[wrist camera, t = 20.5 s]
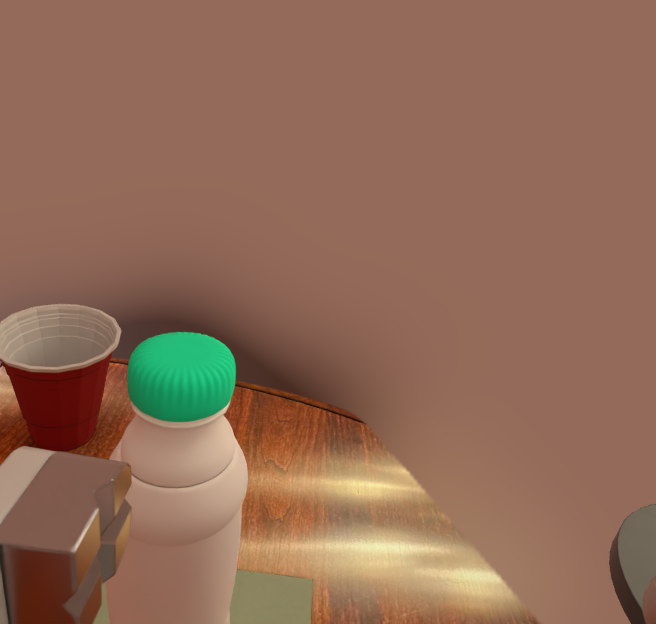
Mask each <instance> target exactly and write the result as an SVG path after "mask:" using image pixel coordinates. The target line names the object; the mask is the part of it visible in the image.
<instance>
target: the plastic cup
mask: <svg viewBox="0 0 656 624" xmlns="http://www.w3.org/2000/svg"><path fill="white" fill-rule="evenodd" d="M120 334H121V329H120V328H119V326H118V324H117V323H116V321H115V319H114V318H112V317H110V316H109V315H107V314H105V313H104V312H102V311H100V310H97V309H93V308H90V307H86V306H82V305H67V304H53V305H45V306H37V307H32V308H29V309H26V310H23V311H20V312H17V313H14V314H12V315H10V316H9V317H7V318H6V319H4V320H2V321H1V322H0V360H1V362H2V364H3V366H4V367H5V369H6V372H7V375H9V377H10V380H11V383H12V386H13V389H14V391H15V394H16V397H17V400H18V403H19V406H20V409H21V412H22V415H23V418H24V419H25V420H26V423H27V426H28V429H29V432H30V435H31V438H32V439H33V441H34V443H35V444H36V445H37V446H39V447H40V448H41V449H45V450H50V451H67V450H71V449H75V448H77V447H79V446H81V445H83V444H85V443H87V442H88V441H89V440H90V439H91V437H92V436H93V434H94V431H95V429H96V425H97V420H98V414H99V410H100V406H101V402H102V397H103V391H104V386H105V381H106V375H107V370H108V366H109V362H110V359H111V356H112V353H113V350H114V349H115V348H116V347H117V346H118V342H119V339H120Z"/></svg>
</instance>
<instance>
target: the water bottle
mask: <svg viewBox="0 0 656 624" xmlns="http://www.w3.org/2000/svg"><path fill="white" fill-rule="evenodd" d="M235 376H236V365H235V360H234V357H233V355H232V353H231V351H230V350H229V349H228V348H227V347H226V346H225V344H223V343H221V342H220V341H219V340H216V339H215V338H213V337H209V336H208V335H201V334H200V333H196V334H195V333H193V332H190V333H187V332H182V333H180V332H175V333H167V334H161V335H160V336H159V335H157V336H154V337H153V338H148V339H147V340H146V341H143V342H141V343H140V345H139V346H137V347H136V349H135V350H134V352H133V353H132V355H131V358H130V360H129V364H128V375H127V384H128V393H129V397H130V400H131V407H132V409H133V410H134V411H135V413H136V414H137V415H136V416H135V418H134V419H133V420H132V421H131V422H130V424H129V425H128V427H127V428H126V430H125V432H124V435H123V438H122V439H121V440H120V442H119V443H118V445H117V447H116V448H115V450H114V451H113V453H112V455H111V456H110V458H109V460H115V461H121V462H127V463H128V464H129V465H130V466H131V478H132V484H131V486H130V488H129V490H128V492H127V494H126V496H125V499H126V501H127V502H128V503H129V504H130V506H131V507H132V514H131V526H130V533H129V538H128V541H127V544H126V548H125V551H124V555H123V558H122V560H121V562H120V565H119V567H118V569H117V572H116V574H115V575H114V576H113V577H112V578H110V579H109V580H107V581H106V596H107V606H108V613H109V624H230V611H229V607H230V603H231V599H232V594H233V589H234V583H235V577H236V570H237V563H238V555H239V546H240V534H241V513H242V507H241V505H242V503H243V501H244V498H245V495H246V491H247V484H248V470H247V464H246V460H245V457H244V454H243V452H242V450H241V448H240V446H239V444H238V442H237V440H236V439H235V437H234V434H233V430H232V428H231V426H230V424H229V422H228V421H227V419H226V418H225V417H224V415H223V414H224V413H225V412H226V411H227V409H228V407H229V404H230V400H231V397H232V394H233V391H234V386H235Z"/></svg>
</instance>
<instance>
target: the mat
mask: <svg viewBox="0 0 656 624" xmlns="http://www.w3.org/2000/svg"><path fill="white" fill-rule="evenodd" d="M312 591H313V579H306V578H299V577H291V576H284V575H277V574H269V573H262V572H254V571H247V570H240V569H237V570H236V577H235V583H234V589H233V594H232V599H231V603H230V607H229V611H230V624H310V623H311V607H312ZM93 624H109V613H108V606H107V596H106V582H105V583H103V584H102V605H101V608H100V610H99V612H98V614H97V616H96V619H95V621H94V623H93Z"/></svg>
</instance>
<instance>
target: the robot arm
mask: <svg viewBox="0 0 656 624" xmlns="http://www.w3.org/2000/svg"><path fill="white" fill-rule="evenodd" d="M131 484H132V478H131V466H130V465H129V464H128V463H127V462H121V461H115V460H109V459H103V458H97V457H91V456H85V455H79V454H73V453H67V452H61V451H58V452H56V451H50V450H44V449H38V448H33V447H27V446H22V447H20V448H18V449H16V450H14V451H13V452H11V453H10V455H9V456H8V457H7V458H6V459H5V460H4V462H3V463H2V464H1V465H0V624H93V623H94V621H95V619H96V616H97V614H98V612H99V610H100V608H101V605H102V584H103V583H105V582H106V581H107V580H109V579H110V578H112V577H113V576H114V575H115V574H116V572H117V569H118V567H119V565H120V562H121V560H122V558H123V555H124V551H125V548H126V544H127V541H128V538H129V533H130V526H131V514H132V507H131V506H130V504H129V503H128V502H127V501H126V499H125V496H126V494H127V492H128V490H129V488H130V486H131ZM643 616H644V619H645V623H646V624H656V577H654V578H653V579H651V581H650V583H649V585H648V587H647V589H646V591H645V593H644V595H643Z"/></svg>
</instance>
